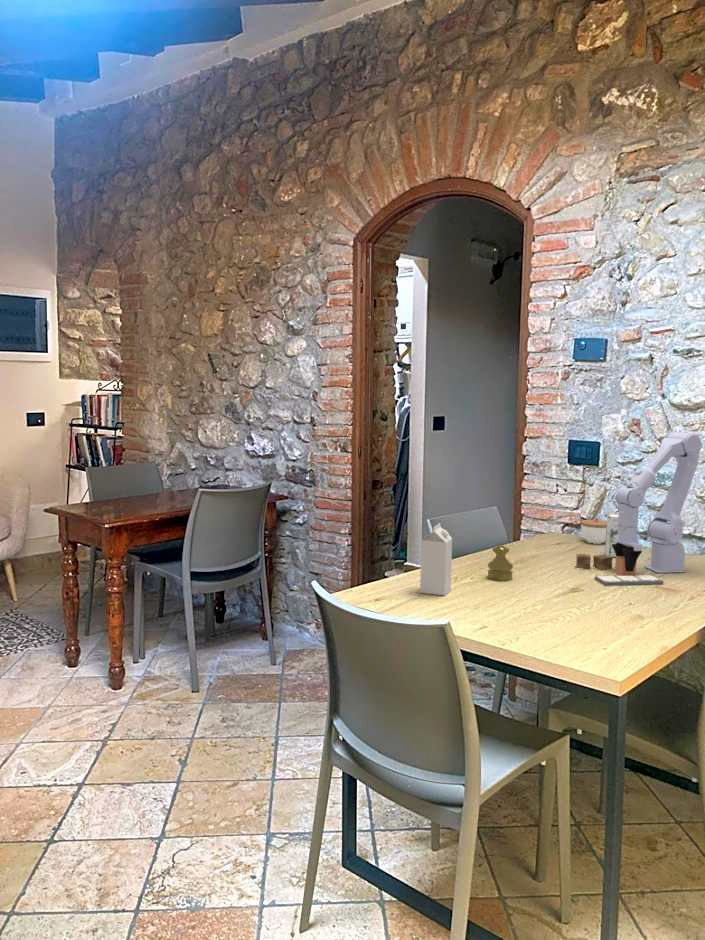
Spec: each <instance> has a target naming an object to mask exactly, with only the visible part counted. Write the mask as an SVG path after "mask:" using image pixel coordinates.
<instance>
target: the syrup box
mask: <svg viewBox="0 0 705 940" xmlns="http://www.w3.org/2000/svg"><path fill="white" fill-rule="evenodd" d="M618 517H619V513H606V521H607V525H606V541H605V542H604V544H605V545H604V546H605V547H604V548H605V549H604V555H606V556H609V557H612V558H613V557H616V554H615V551H614V549H613V547H612V544H616V542H614V541H613V535H618Z"/></svg>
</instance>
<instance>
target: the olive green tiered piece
mask: <svg viewBox="0 0 705 940" xmlns="http://www.w3.org/2000/svg"><path fill="white" fill-rule="evenodd" d="M491 550H492V551H493V552H494V553H495V556H494V558H492V560H491V561H489V562H488V563H487V567H488V569H487V578H488V579H490V580H493V581H497V580H498V582H505V581H506V580H507V581H511V580H512V579H513V572H514V571H513V567H514V564H513V563H512V562H511V561H509V559H508V558H507V557H506V555H507V554H508V553H509V552H510V548H508V547H507V546H505V545H503V544H499V545H497V546H494V547H492V549H491Z"/></svg>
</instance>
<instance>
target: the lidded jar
mask: <svg viewBox="0 0 705 940" xmlns="http://www.w3.org/2000/svg"><path fill="white" fill-rule="evenodd" d="M606 525H607V520H602V519H601V520H600V519H599V518H598V517H595V518H594V519H582V520H580V530H581V532H580V533H581V535H582V537H583V539H584V540H585V542H586V543H587V542H588V543H587V544H590V543H593V544H592V545H602V544H601V543H604V544H605V543H606Z"/></svg>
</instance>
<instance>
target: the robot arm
mask: <svg viewBox="0 0 705 940" xmlns="http://www.w3.org/2000/svg"><path fill="white" fill-rule="evenodd" d="M702 446H703V442H702V440H701V438H700V436H699V435H698V434H697V433H694V432H689V433H688V432H681V431H674V430H673V431H672V430H671V431H669V432H668V433H666V434H665V436H664V438H662V439H661V446H660V447H659V448H658V450H657V451H656V452H655V454H654V456H653V457H652V458H651V459H650V461H649V462H648V464H647V465H646V467H642V468H641V467H640V468H639V469H637V470H636V471H635V474H634V475H633V476H632V478H630V480H629V481H628V482H627V483H626V485H625V486H622V487H620V488H619V489H618V490H617V492H616V494H615V495H614V497H615V501H616V503H617V508H618V514H619V517H618V535H613V541H614V542H616V544H612V547H613V549H614V551H615V554H616V556H624V558H625V569H626V571H633V570H634V567H635V564H636V565H637V560H638V558H639V557H640V556H641V554H642V552H643V550H642V548H643V547H642V546H643V545H642V544H641V543H640V541H638V527H639V526H638V525H639V509H640V506H641V505H642V504H643V503H644V499H645V496H646V493H647V491H648V490H649V489H650V488H651V486H652V485H653V484H654V482H656V481H657V480H656V479H657V476H656V474H657V473H658V472H659V471H660V470H661V469H662V468H663V467H664V466H665V465H666V463H668V462H669V461H670V459H672V458H674V459H675V460H676V462H677V466H676V469H675V472H674V474H673V477H672V480H671V483H670V486H669V489H668V491H667V494H666V497H665V499H664V502H663V506H662V508H661V510H660V511H658V512H656V513H655V514H653V517H652V519H651V521H649V523H648V524H647V528H646V532H647V535H648V536H649V537H650V541H651V552H650V565H644V568H647V569H649V570H650V571H653V572H655V573H658V574H661V573H665V574H666V573H668V574H669V573H685V572H686V570H685V561H686V560H685V559H686V558H685V557H686V552H685V551H686V549H685V546H684V544H683V543H682V542H681V540H682V538H683V536H684V535H683V533H684V525H685V522H684V520H683V518H681V516H680V515H681V513H682V510H683V507H684V505H685V504H684V503H685V502H686V499H687V496H688V493H689V492H690V487H691V484H692V481H693V478H694V476H695V473H696V471H697V467H698V465H699V459H700V457H699V455H700V453H701V449H702Z"/></svg>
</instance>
